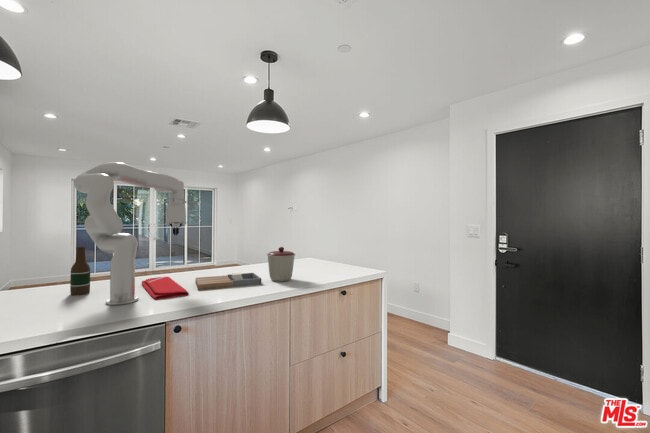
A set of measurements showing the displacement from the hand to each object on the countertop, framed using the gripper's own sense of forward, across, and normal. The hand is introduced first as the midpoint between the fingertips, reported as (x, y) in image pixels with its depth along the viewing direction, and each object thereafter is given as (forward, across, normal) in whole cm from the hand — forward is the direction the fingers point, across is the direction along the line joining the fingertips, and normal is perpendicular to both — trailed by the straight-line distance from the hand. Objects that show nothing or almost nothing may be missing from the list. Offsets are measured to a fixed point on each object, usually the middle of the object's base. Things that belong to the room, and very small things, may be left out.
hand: (175, 235), depth 170 cm
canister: (+29, -60, +6) cm, 67 cm away
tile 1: (+26, -33, +3) cm, 42 cm away
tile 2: (+29, -34, +3) cm, 44 cm away
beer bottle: (+29, +43, -3) cm, 52 cm away
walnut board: (+29, -20, +3) cm, 35 cm away
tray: (+29, -37, +3) cm, 47 cm away
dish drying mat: (+30, +6, +4) cm, 31 cm away
